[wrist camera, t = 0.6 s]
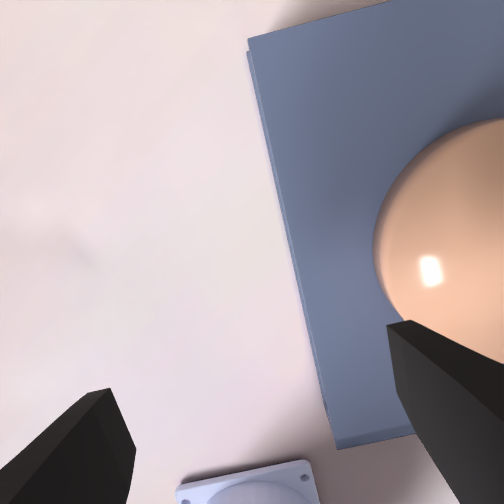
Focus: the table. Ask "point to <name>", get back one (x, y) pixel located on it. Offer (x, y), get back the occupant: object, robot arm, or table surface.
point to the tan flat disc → (448, 238)
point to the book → (364, 168)
